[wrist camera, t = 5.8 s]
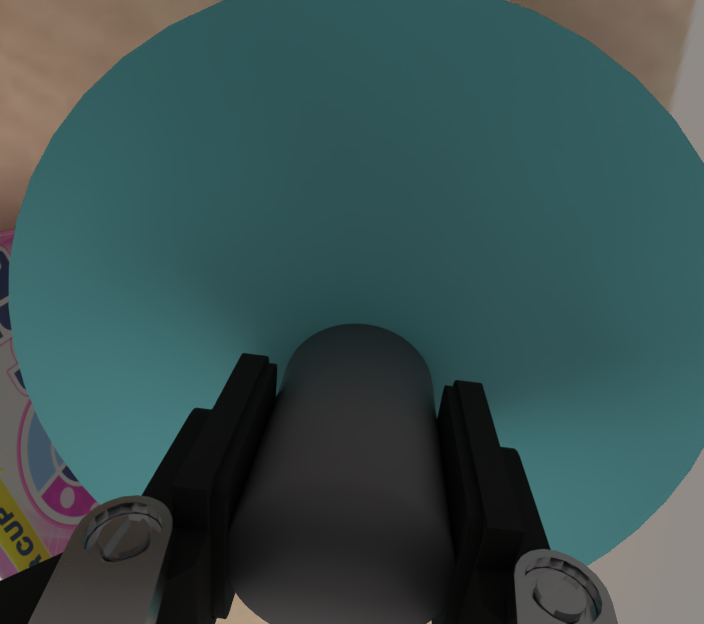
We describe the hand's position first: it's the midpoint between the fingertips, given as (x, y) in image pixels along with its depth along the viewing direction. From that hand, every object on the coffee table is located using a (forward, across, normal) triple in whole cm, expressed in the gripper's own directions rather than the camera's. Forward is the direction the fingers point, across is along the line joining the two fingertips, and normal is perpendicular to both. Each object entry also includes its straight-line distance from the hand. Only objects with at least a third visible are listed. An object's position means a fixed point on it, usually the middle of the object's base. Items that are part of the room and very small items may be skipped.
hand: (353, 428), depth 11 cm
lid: (+2, 0, 0) cm, 2 cm away
